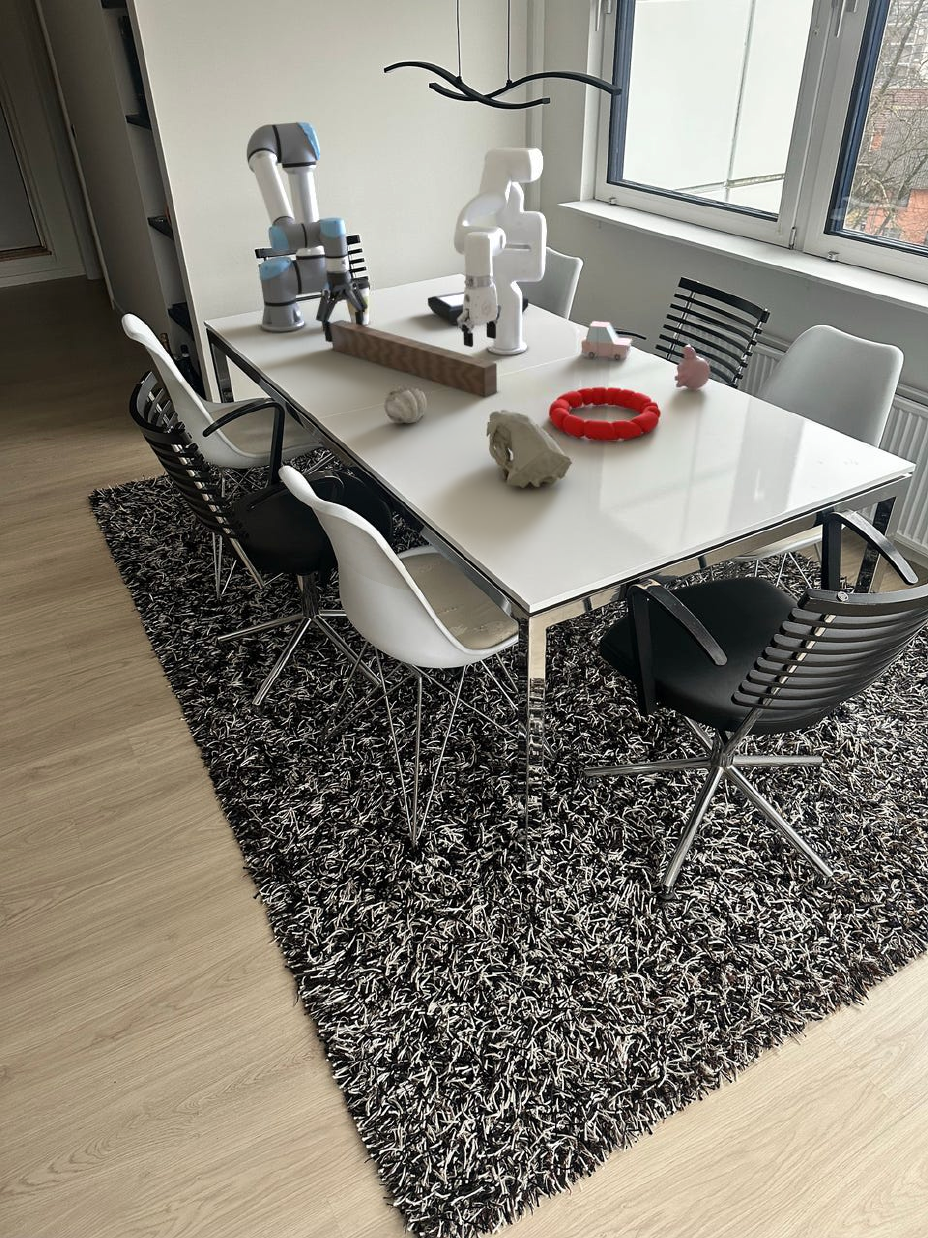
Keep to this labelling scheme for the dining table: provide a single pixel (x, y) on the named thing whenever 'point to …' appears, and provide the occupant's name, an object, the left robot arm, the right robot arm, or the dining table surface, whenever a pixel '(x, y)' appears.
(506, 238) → the right robot arm
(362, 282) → the coffee cup
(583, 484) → the dining table surface
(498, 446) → the animal skull
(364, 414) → the dining table surface
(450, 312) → the electronic device
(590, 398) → the decorative ring
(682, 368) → the figurine
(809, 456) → the dining table surface
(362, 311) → the left robot arm
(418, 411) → the seashell
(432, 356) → the post
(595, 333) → the toy car
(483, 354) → the dining table surface
